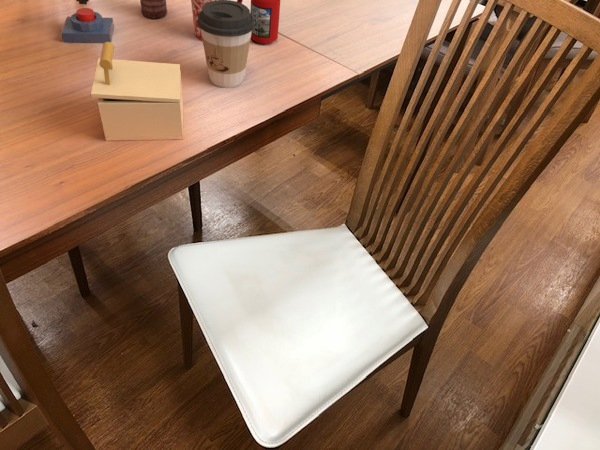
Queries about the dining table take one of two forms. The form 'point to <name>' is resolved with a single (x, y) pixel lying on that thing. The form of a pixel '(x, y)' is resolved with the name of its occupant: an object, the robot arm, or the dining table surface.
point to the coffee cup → (226, 40)
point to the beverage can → (265, 20)
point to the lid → (135, 79)
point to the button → (85, 14)
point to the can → (154, 8)
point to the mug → (197, 3)
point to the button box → (88, 30)
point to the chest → (141, 119)
